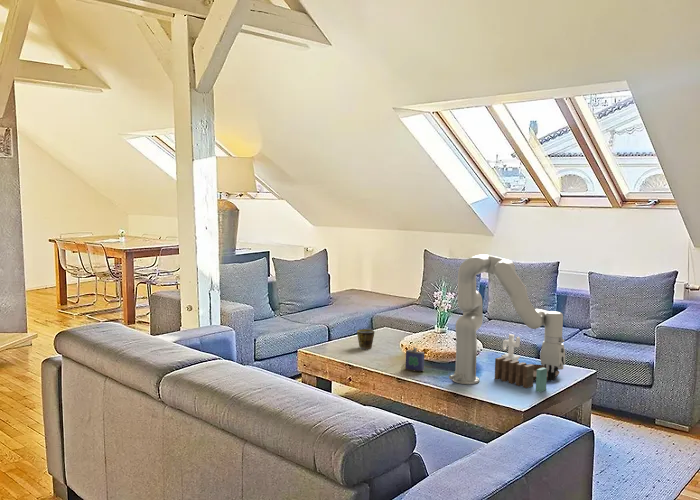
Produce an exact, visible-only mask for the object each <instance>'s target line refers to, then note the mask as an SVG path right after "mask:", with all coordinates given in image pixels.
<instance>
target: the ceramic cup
mask: <svg viewBox="0 0 700 500" xmlns="http://www.w3.org/2000/svg"><path fill="white" fill-rule="evenodd" d="M356 335H357V341H358V348H359V349H360V350H365V351H366V349H367V350H371V349H372V346H373V342H374V338H375V330H374V329H370V328H361V329H357V330H356Z"/></svg>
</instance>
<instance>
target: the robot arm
mask: <svg viewBox="0 0 700 500" xmlns="http://www.w3.org/2000/svg"><path fill="white" fill-rule="evenodd" d="M483 273H486V274H489V275H490V274H491V275H493V276H494V278H496V281H498V282H499V284H500V285H501V286H502V289H503V290H504V292H506V294H507V295H508V297H509V299H510V301H511V304H512V306H513V307H514V310H515V311H516V313H517V314H518V316H519V318H520V319H521V321H522V322H523V323H524V325H526V327H527V328H529V329H531V330H536V329H539V328H540V327H542V326H544V333H543V335H544V338H543V341H542V344H541V348H540V355H539V356H540V358H539V359H540V365H543V366H545V368H546V370H547V371H548V380H550V381H549V382H553V381H555V380H556V378H555V376H556V371H557V370H558V371H561V370H564V365H566V349H565V345H564V342H565V339H564V338H563V326H564V325H563V324H564V314H563V313H562V312H560V311H555V310H553V311H552V310H551V311H549V310H545V309H540V308H535V307H534V305H533V304H532V302H531V300H530V299H529V296H528V290H527V287H526V285H525V284H524V283H523V281H522V279H521V278H520V277H519V275H518V274H517V272H516V265H515V263H514V262H513V261H512V260H510V259H506V258H502V257H500V256H494V255H490V254H483V253H482V254H476V255H473V256H471V257H469V258H467V259H465V260H464V261H463V262H461V264H460V265H459V268H458V272H457V306H458V308H459V310H461V311H462V315H461V316H459V317H458V318H457V320H456V322H455V337H456V338H455V339H456V341H455V351H456V352H455V371H454V372H453V374H450V375H448V379H449V380H452V381H453V382H455V383H457V384H462V385H474V384H475V385H476V384H478V383H479V382H480V378H479V377H478V376H477V353H478V352H477V351H478V350H477V349H478V343H477V341H478V339H477V331H478V330H480V328H481V327H482V326H483V325H482V324H483V320H484V319H483V297H482V295H481V293H480V291H478V290H477V279H476V278H477V275H480V274H483Z"/></svg>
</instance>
